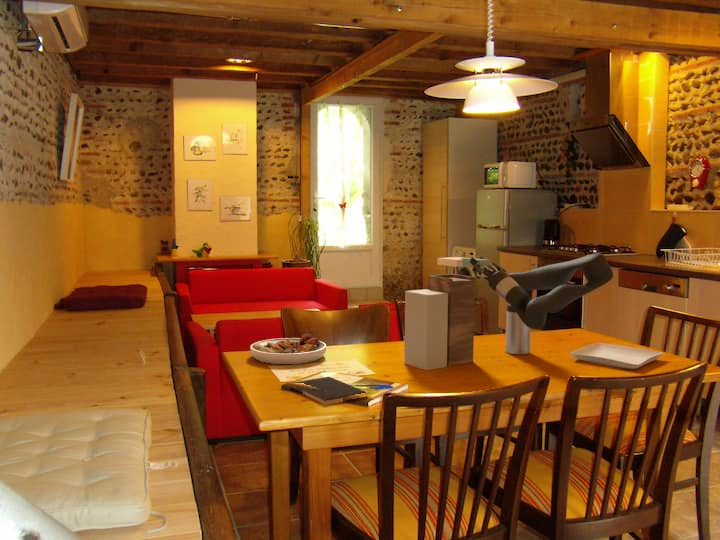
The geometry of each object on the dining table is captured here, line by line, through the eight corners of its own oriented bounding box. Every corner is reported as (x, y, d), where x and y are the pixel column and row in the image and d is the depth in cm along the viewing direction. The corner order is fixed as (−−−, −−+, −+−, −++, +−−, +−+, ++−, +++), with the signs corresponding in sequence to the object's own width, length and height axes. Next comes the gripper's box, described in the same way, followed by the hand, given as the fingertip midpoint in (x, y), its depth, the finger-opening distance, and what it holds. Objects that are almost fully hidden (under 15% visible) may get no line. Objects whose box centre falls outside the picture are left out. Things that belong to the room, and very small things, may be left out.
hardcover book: (324, 407, 207) (324, 399, 207) (289, 389, 226) (289, 383, 226) (368, 398, 216) (368, 391, 216) (330, 382, 235) (330, 376, 235)
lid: (495, 267, 250) (495, 259, 250) (476, 268, 244) (476, 260, 244) (456, 263, 267) (456, 255, 267) (437, 264, 262) (437, 256, 261)
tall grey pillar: (446, 366, 257) (448, 293, 254) (426, 370, 251) (427, 295, 248) (424, 360, 267) (425, 289, 264) (404, 363, 261) (405, 291, 259)
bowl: (295, 370, 250) (295, 349, 249) (234, 360, 266) (234, 340, 265) (340, 355, 276) (340, 336, 275) (282, 346, 291) (282, 328, 291)
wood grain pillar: (473, 362, 264) (475, 277, 261) (449, 366, 257) (450, 279, 254) (450, 355, 275) (452, 274, 272) (426, 359, 268) (428, 275, 265)
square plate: (568, 361, 268) (568, 351, 267) (597, 350, 288) (598, 341, 287) (637, 373, 249) (637, 363, 249) (664, 361, 269) (664, 351, 269)
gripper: (523, 276, 242) (493, 249, 254) (494, 278, 234) (465, 251, 246) (514, 293, 246) (485, 266, 257) (486, 296, 238) (457, 268, 249)
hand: (475, 259), depth 251 cm, fingers closed on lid, 4 cm apart
